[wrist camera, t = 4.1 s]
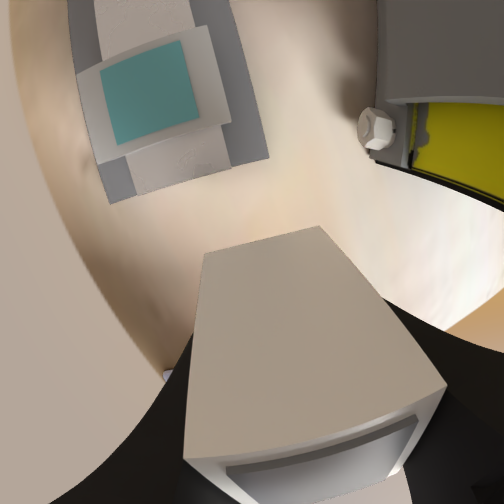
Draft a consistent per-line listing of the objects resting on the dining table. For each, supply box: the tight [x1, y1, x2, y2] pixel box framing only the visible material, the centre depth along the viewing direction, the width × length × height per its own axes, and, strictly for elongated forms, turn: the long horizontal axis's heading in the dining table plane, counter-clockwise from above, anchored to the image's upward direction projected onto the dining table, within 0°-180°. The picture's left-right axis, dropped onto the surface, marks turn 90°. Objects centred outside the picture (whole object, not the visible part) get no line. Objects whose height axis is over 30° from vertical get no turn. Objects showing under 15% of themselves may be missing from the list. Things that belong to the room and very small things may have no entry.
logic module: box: [183, 226, 447, 504], centre depth 7 cm, size 4×4×7 cm
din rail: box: [94, 0, 232, 196], centre depth 9 cm, size 21×5×1 cm, turn 13°
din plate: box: [67, 0, 269, 204], centre depth 10 cm, size 21×9×1 cm, turn 13°
